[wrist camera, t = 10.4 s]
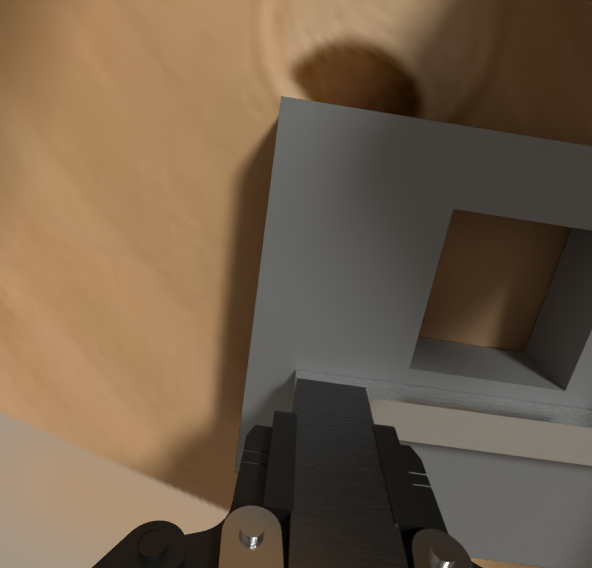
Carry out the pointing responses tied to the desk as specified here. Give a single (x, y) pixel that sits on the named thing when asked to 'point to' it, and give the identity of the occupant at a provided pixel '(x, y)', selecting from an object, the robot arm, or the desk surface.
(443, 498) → the cubby
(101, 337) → the desk surface
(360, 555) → the grey bar handle
